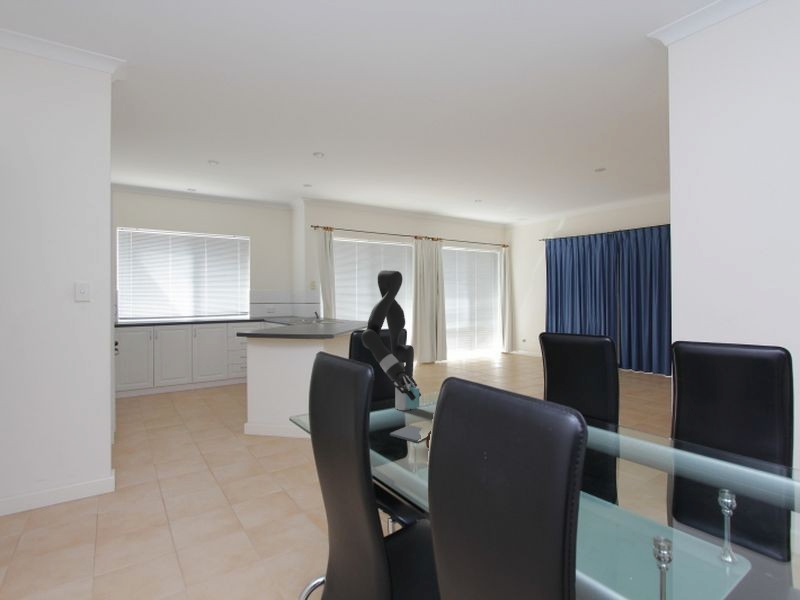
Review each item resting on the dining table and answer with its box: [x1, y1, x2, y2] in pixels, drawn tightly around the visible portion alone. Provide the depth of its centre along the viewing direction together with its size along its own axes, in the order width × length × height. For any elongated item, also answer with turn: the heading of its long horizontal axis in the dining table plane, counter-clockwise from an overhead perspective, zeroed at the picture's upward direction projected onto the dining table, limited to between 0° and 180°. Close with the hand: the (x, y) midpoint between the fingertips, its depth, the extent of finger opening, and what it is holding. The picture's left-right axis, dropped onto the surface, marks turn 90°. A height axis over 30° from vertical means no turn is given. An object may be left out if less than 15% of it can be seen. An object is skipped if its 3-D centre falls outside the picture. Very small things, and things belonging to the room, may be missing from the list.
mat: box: [389, 424, 423, 442], centre depth 176 cm, size 14×14×1 cm
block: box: [406, 387, 420, 410], centre depth 176 cm, size 4×4×8 cm
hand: (416, 397), depth 175 cm, fingers closed on block, 4 cm apart
